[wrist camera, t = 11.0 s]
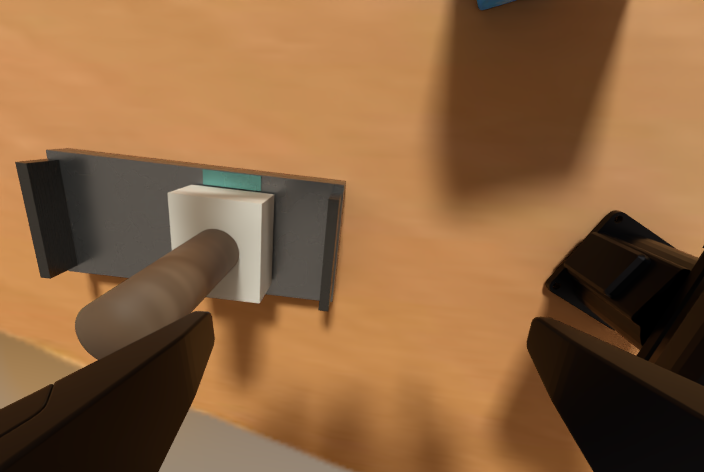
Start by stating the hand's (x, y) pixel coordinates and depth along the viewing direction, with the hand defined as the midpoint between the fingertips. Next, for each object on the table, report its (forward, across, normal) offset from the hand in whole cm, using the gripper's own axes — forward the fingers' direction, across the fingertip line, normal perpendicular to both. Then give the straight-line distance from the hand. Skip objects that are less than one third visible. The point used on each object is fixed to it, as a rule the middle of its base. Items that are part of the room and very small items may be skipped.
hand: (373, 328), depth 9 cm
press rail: (+14, +10, +2) cm, 17 cm away
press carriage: (+12, +8, +2) cm, 14 cm away
